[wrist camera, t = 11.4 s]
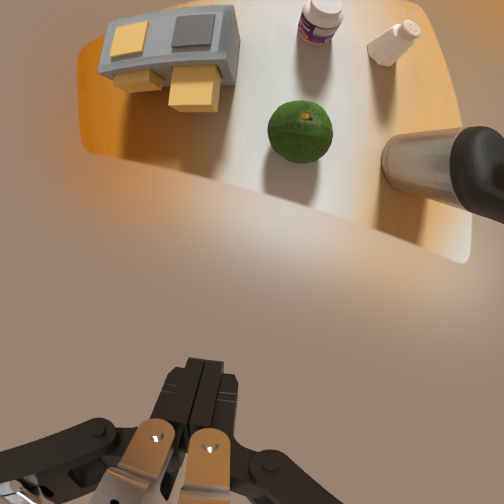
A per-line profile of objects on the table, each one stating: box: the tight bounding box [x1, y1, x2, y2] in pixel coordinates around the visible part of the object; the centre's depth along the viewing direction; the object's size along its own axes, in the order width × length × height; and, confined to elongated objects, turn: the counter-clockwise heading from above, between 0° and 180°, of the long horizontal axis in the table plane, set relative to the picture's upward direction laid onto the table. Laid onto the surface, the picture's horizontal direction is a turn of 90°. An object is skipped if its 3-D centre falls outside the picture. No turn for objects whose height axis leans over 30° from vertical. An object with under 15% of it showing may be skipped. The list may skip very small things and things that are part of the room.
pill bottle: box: [298, 0, 343, 45], centre depth 26 cm, size 5×5×10 cm
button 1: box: [113, 69, 164, 93], centre depth 27 cm, size 5×8×5 cm, turn 175°
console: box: [98, 5, 240, 87], centre depth 27 cm, size 16×8×12 cm, turn 85°
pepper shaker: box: [367, 20, 421, 67], centre depth 25 cm, size 5×5×11 cm
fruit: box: [268, 101, 333, 163], centre depth 30 cm, size 8×8×12 cm
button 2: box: [168, 65, 222, 112], centre depth 28 cm, size 5×8×5 cm, turn 175°
